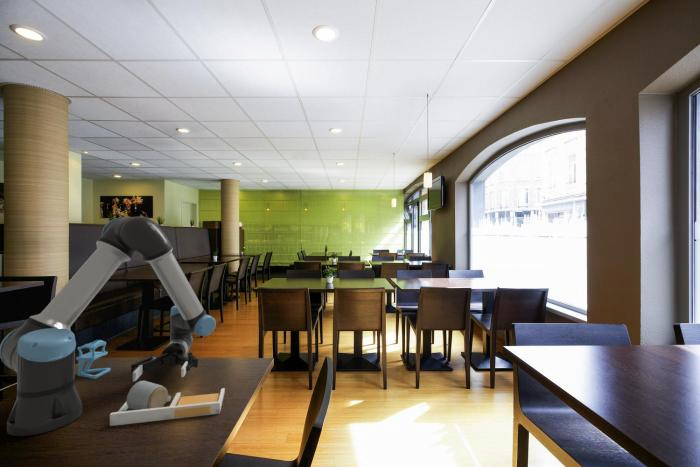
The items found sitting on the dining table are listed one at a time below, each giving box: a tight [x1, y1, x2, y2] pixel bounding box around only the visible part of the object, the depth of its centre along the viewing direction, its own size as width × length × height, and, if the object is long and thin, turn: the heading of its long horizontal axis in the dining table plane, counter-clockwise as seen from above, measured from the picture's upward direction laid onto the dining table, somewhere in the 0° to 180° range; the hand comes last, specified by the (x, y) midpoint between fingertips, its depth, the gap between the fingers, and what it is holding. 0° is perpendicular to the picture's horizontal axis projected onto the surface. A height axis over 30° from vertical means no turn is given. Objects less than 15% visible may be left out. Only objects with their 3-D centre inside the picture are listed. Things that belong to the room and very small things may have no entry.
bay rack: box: [109, 387, 226, 427], centre depth 100 cm, size 27×14×3 cm, turn 104°
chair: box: [75, 339, 111, 380], centre depth 124 cm, size 8×8×12 cm
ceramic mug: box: [126, 380, 172, 410], centre depth 100 cm, size 11×8×8 cm
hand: (158, 374), depth 108 cm, fingers open, 13 cm apart
